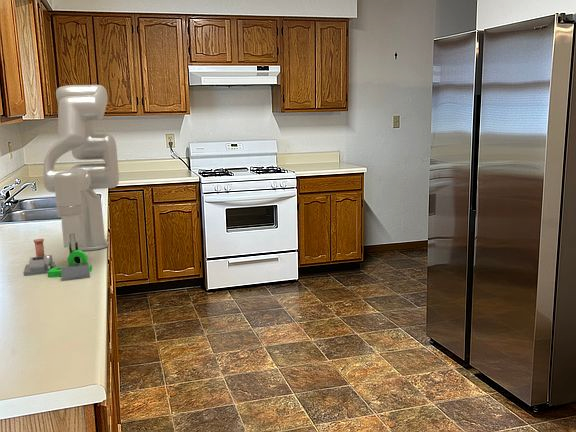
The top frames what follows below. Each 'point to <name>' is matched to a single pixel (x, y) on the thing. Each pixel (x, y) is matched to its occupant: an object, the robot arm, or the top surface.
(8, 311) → the top surface
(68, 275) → the block
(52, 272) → the mechanical part
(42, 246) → the peach peg
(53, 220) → the top surface
